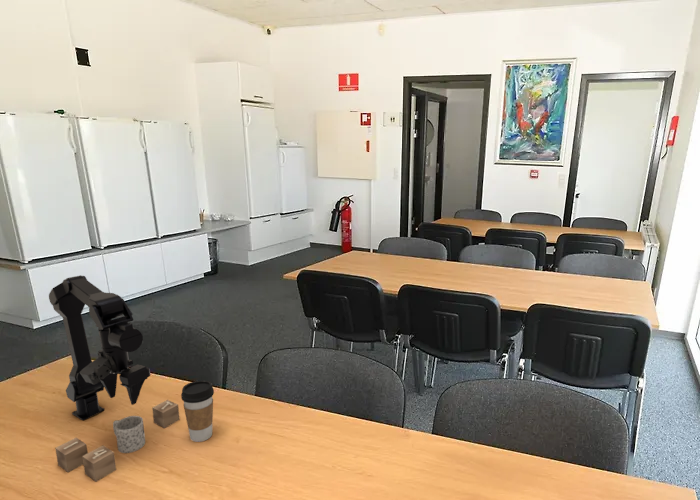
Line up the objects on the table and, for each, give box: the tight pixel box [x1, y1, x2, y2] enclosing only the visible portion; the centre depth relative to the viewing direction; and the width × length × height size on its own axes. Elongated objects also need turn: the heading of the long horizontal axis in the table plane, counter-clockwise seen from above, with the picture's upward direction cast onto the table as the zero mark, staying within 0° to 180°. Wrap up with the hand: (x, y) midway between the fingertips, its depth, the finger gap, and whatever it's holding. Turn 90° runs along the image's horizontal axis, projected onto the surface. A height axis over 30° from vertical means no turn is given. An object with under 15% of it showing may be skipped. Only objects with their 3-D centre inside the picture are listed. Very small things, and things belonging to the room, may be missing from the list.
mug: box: [112, 415, 146, 454], centre depth 120 cm, size 10×7×7 cm, turn 62°
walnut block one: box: [55, 437, 89, 473], centre depth 112 cm, size 5×5×5 cm
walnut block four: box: [82, 444, 117, 482], centre depth 109 cm, size 5×5×5 cm
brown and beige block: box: [151, 399, 180, 429], centre depth 130 cm, size 5×5×5 cm
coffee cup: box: [180, 380, 215, 443], centre depth 122 cm, size 8×8×15 cm
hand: (123, 400), depth 118 cm, fingers open, 9 cm apart
